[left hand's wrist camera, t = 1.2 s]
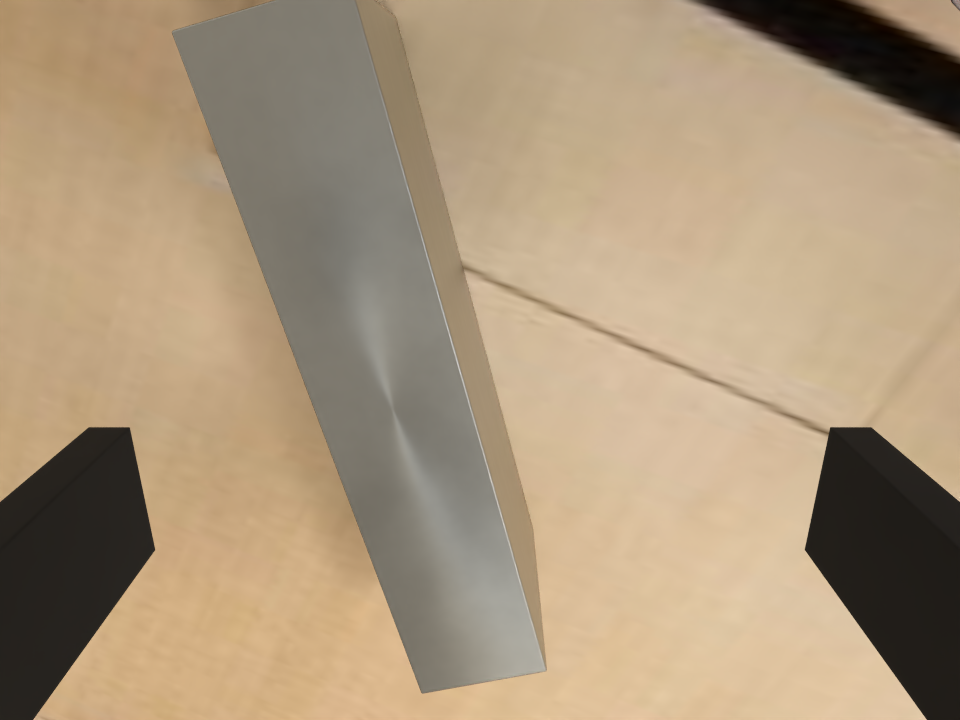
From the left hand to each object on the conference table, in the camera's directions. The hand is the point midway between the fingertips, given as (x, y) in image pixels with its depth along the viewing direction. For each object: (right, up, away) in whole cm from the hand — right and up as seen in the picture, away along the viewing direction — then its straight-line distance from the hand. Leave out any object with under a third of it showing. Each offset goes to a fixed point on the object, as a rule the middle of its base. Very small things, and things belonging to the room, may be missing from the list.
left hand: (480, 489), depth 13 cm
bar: (-3, +4, +18) cm, 18 cm away
